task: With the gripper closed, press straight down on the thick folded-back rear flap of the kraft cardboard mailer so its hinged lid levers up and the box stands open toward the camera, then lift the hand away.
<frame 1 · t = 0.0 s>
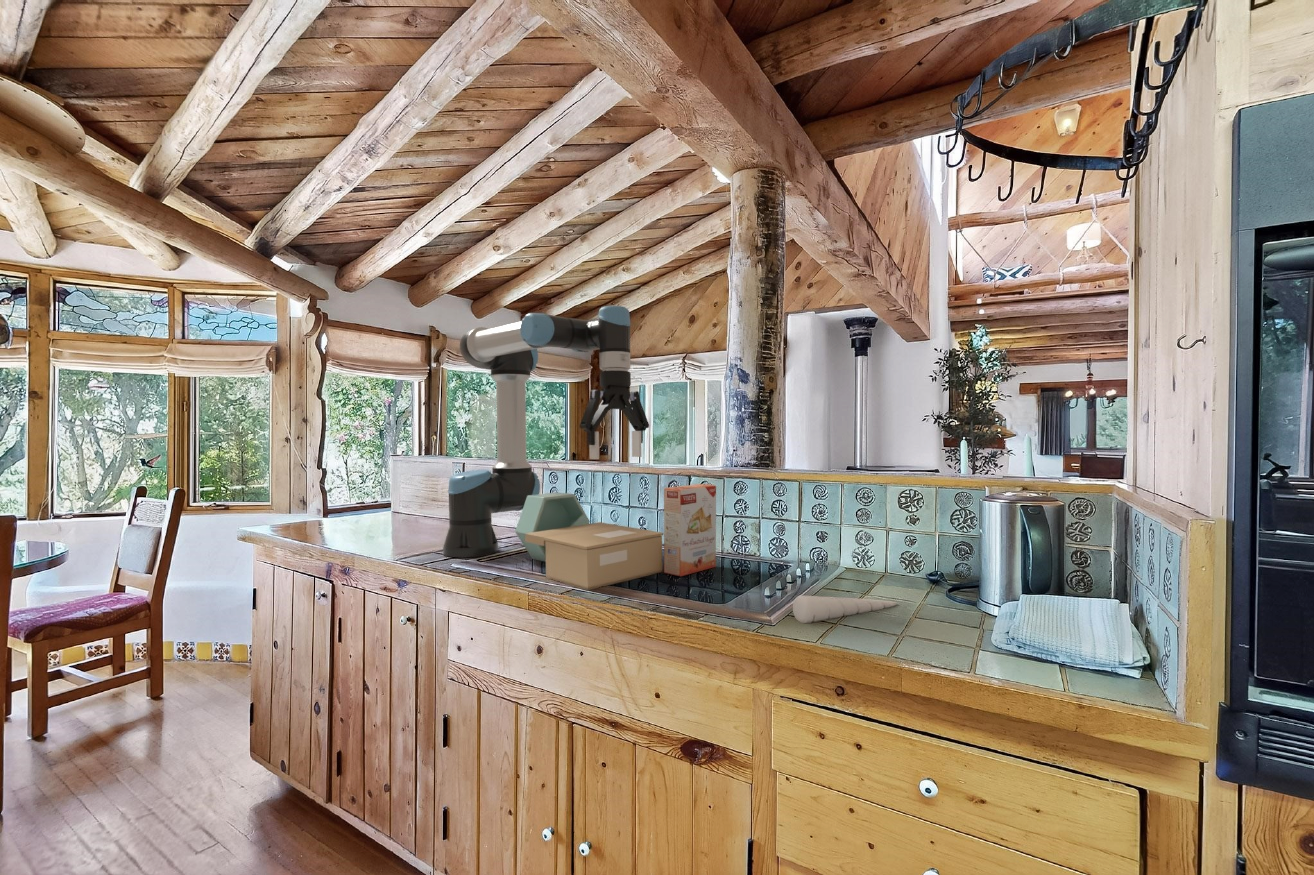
hand: (616, 458, 146), 28 cm above the worktop, fingers open, 13 cm apart
unicorn horn: (845, 615, 113), on the worktop
lid: (594, 536, 147), point 9 cm above the worktop, hinge at 0.0°
planter: (553, 558, 164), on the worktop
cracker box: (691, 571, 148), on the worktop
mailer: (605, 574, 144), on the worktop
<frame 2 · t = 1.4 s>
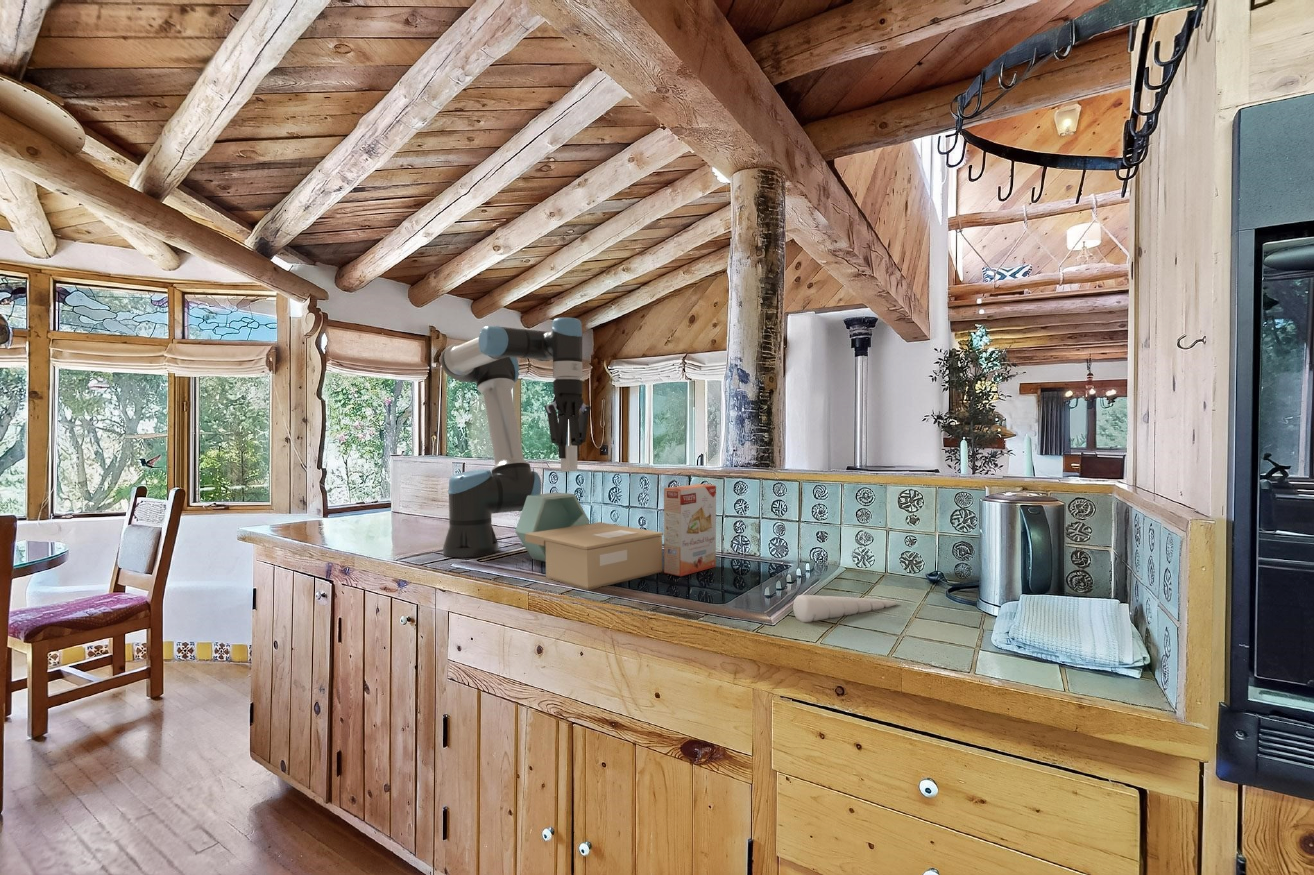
hand: (569, 470, 154), 24 cm above the worktop, fingers closed
nothing on the worktop moved.
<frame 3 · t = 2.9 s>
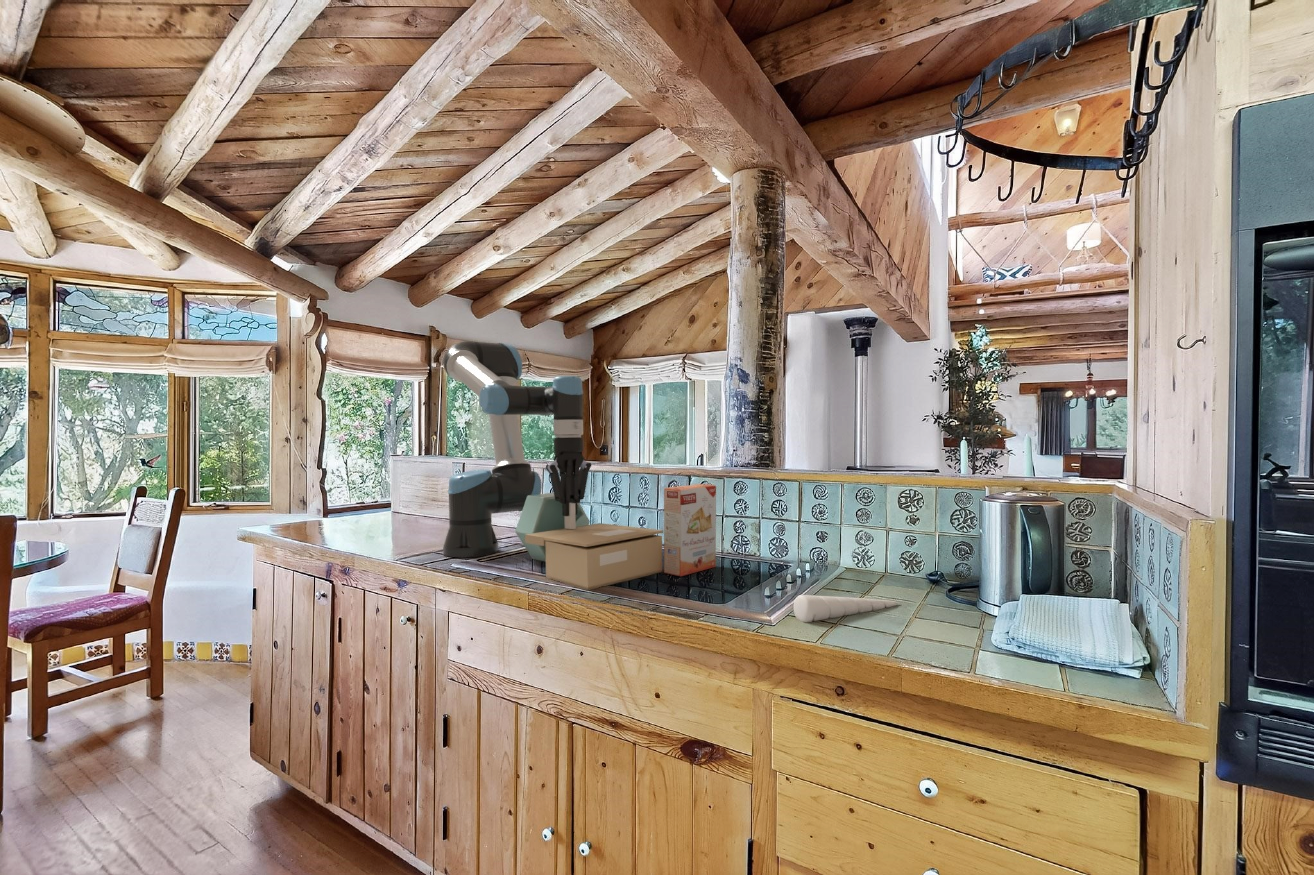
hand: (570, 528, 154), 10 cm above the worktop, fingers closed
lid: (593, 536, 147), point 9 cm above the worktop, hinge at 2.1°, touching gripper
everything else where it was.
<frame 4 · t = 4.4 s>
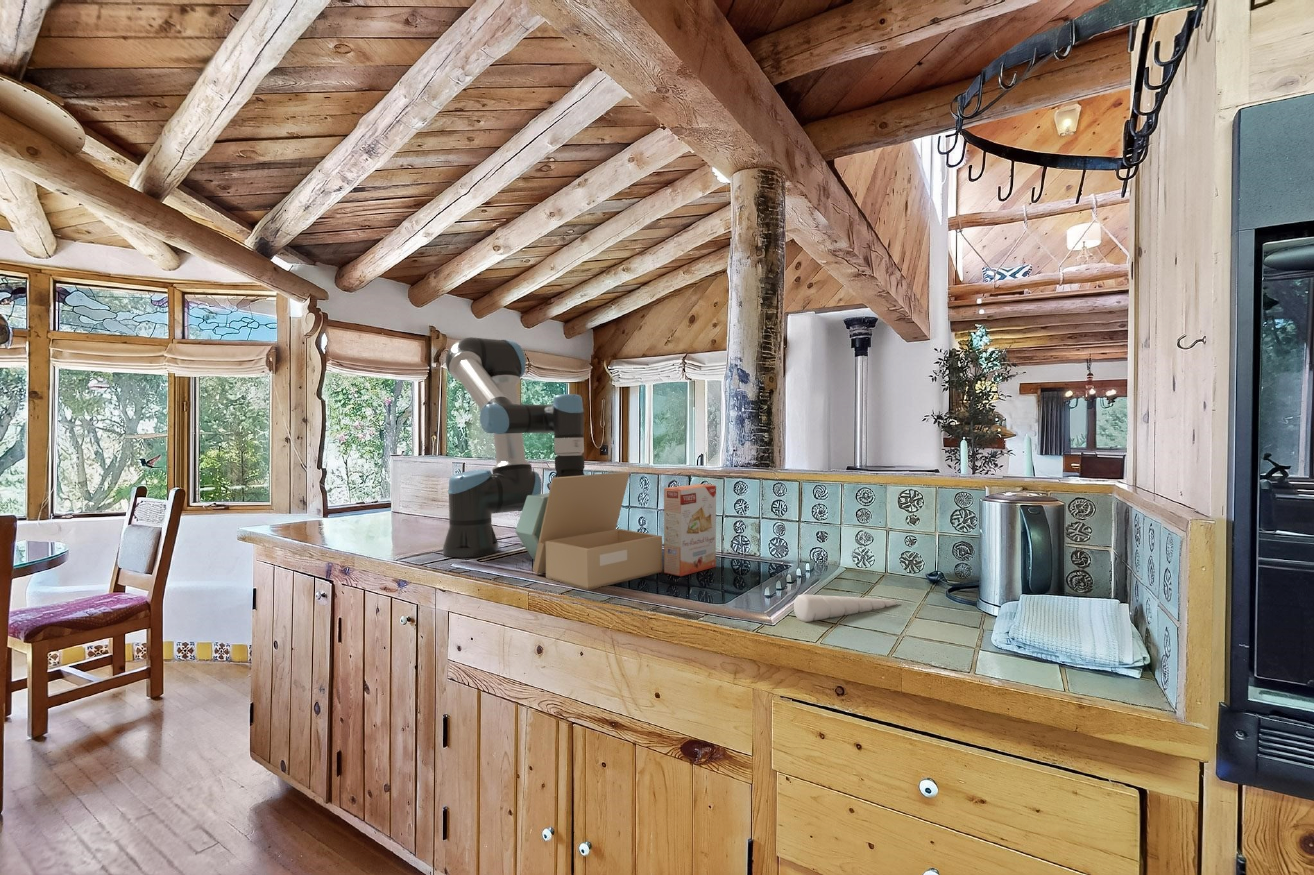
hand: (571, 546, 154), 5 cm above the worktop, fingers closed
lid: (584, 521, 150), point 12 cm above the worktop, hinge at 68.7°, touching gripper
everything else where it was.
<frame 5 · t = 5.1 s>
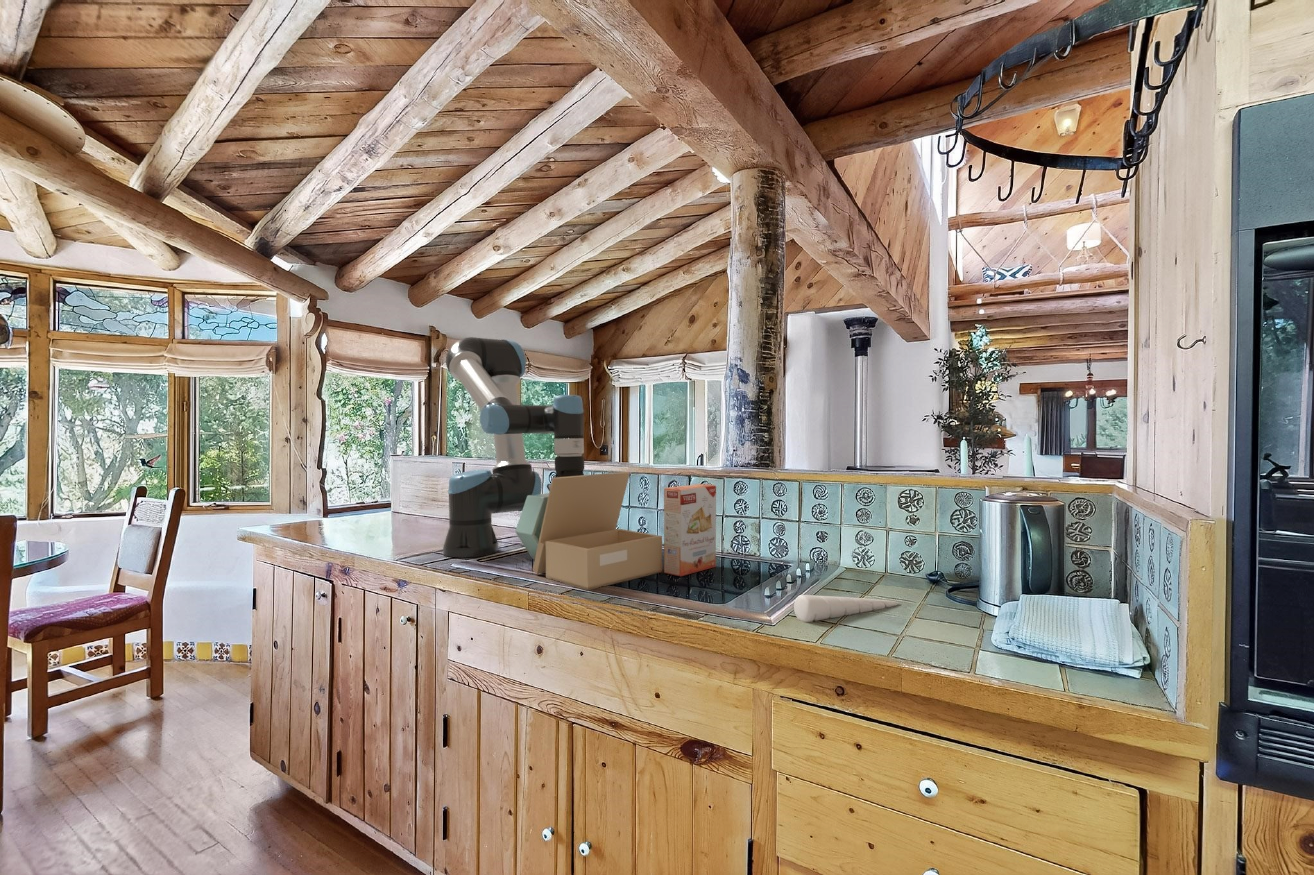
hand: (571, 547, 154), 5 cm above the worktop, fingers closed
lid: (584, 521, 150), point 12 cm above the worktop, hinge at 68.6°
everything else where it was.
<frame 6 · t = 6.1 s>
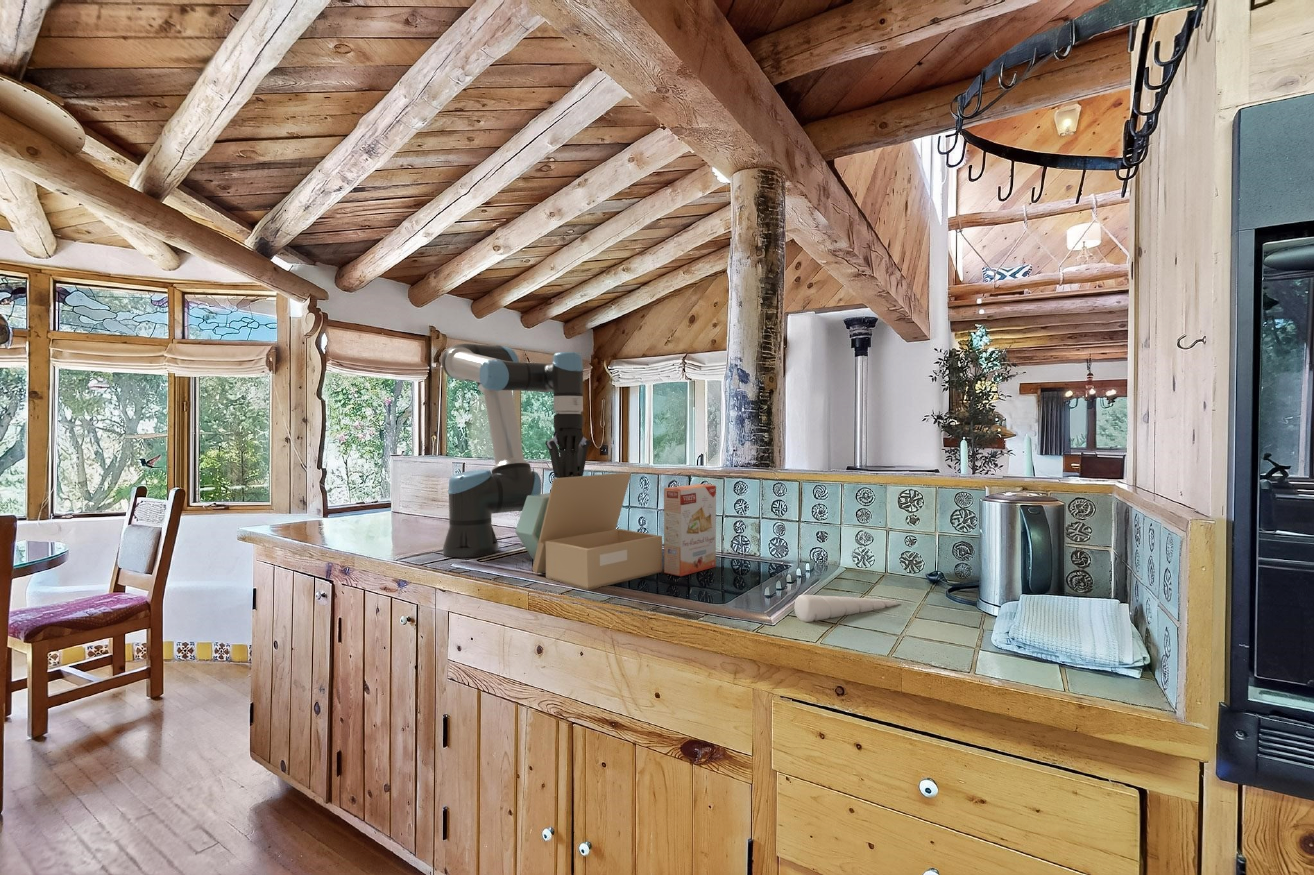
hand: (569, 504, 154), 16 cm above the worktop, fingers closed
lid: (584, 521, 150), point 12 cm above the worktop, hinge at 67.0°
everything else where it was.
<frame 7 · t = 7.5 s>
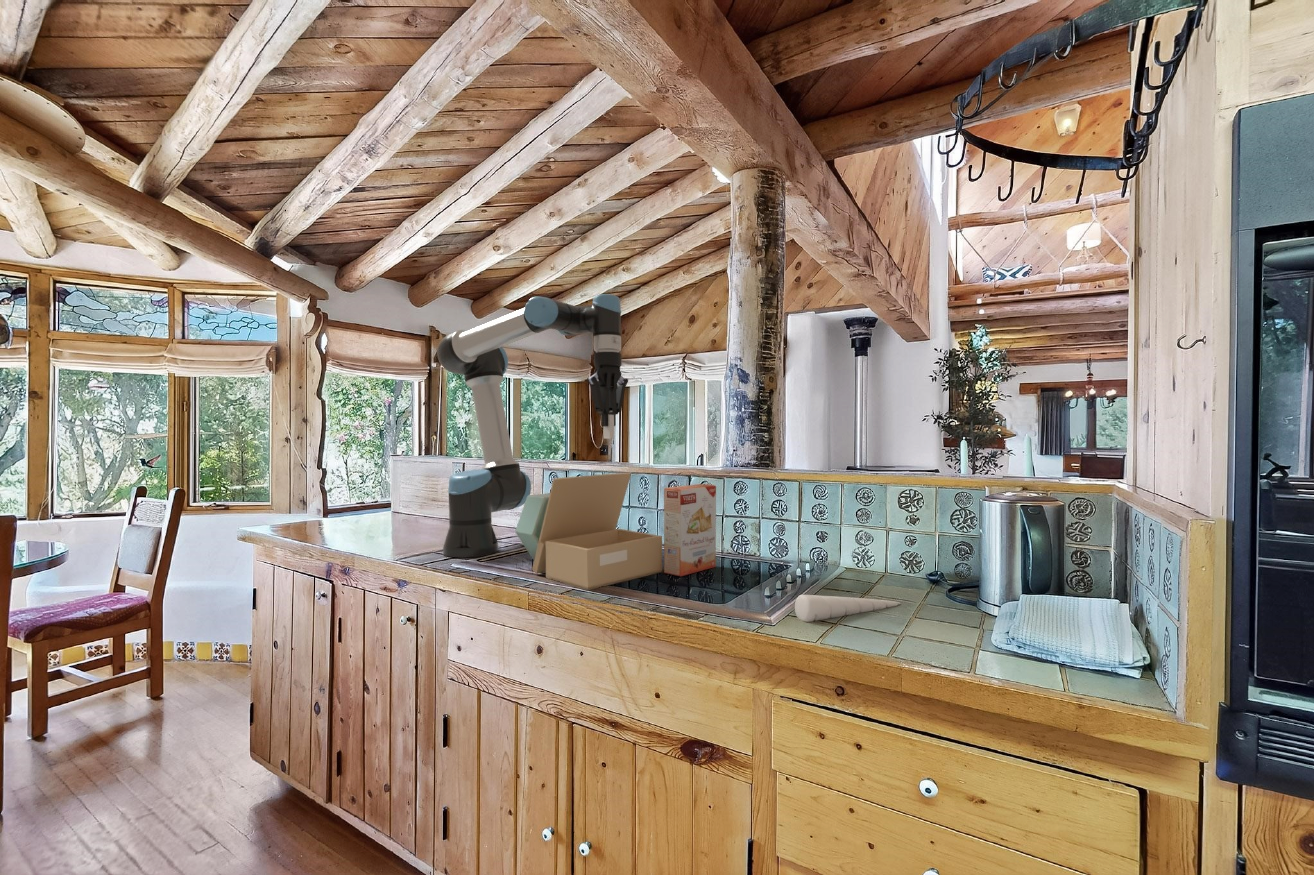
hand: (608, 438, 164), 33 cm above the worktop, fingers closed
nothing on the worktop moved.
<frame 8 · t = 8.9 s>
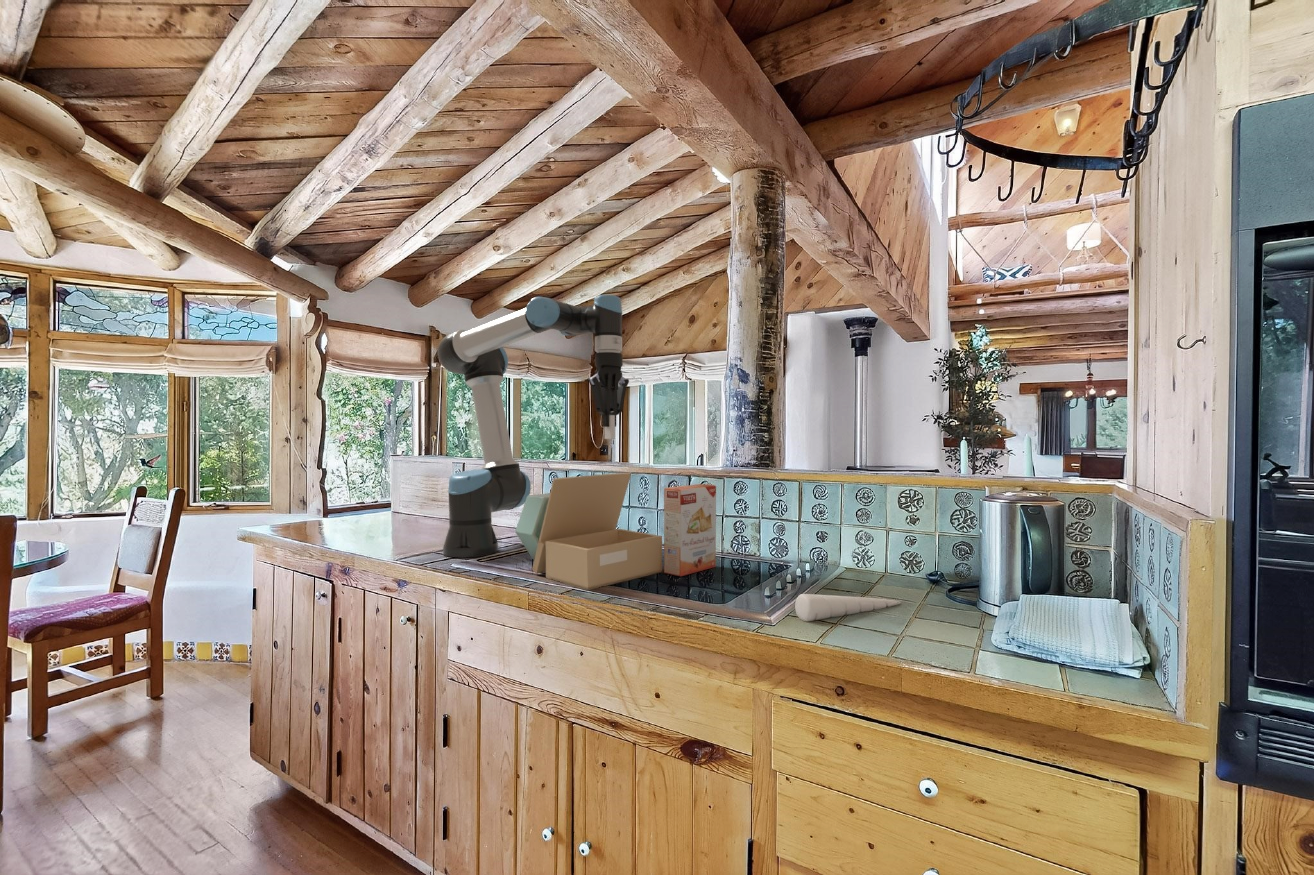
hand: (609, 438, 165), 32 cm above the worktop, fingers closed
nothing on the worktop moved.
at the end: lid at +67° (first picture: +0°); the gripper is holding nothing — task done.
